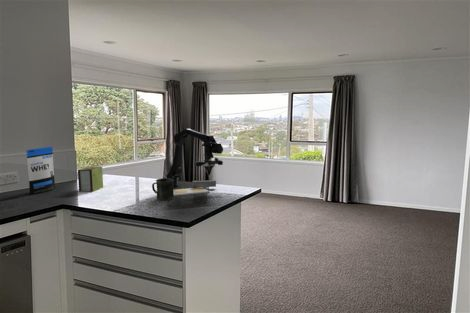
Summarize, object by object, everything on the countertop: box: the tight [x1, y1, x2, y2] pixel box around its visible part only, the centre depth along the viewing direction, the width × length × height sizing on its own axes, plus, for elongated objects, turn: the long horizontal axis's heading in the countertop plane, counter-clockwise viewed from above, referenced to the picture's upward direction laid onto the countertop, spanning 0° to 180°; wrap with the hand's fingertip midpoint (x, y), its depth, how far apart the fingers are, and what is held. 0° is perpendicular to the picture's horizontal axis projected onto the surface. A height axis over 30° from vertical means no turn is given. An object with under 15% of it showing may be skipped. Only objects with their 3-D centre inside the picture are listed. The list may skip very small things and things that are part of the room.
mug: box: [151, 177, 175, 201], centre depth 220 cm, size 11×15×12 cm
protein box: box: [77, 165, 104, 193], centre depth 248 cm, size 10×15×16 cm
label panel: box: [173, 187, 210, 197], centre depth 239 cm, size 15×24×2 cm, turn 113°
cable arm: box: [191, 179, 217, 188], centre depth 248 cm, size 17×4×4 cm, turn 99°
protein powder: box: [26, 146, 56, 196], centre depth 242 cm, size 10×24×30 cm, turn 170°
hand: (208, 175), depth 240 cm, fingers closed
